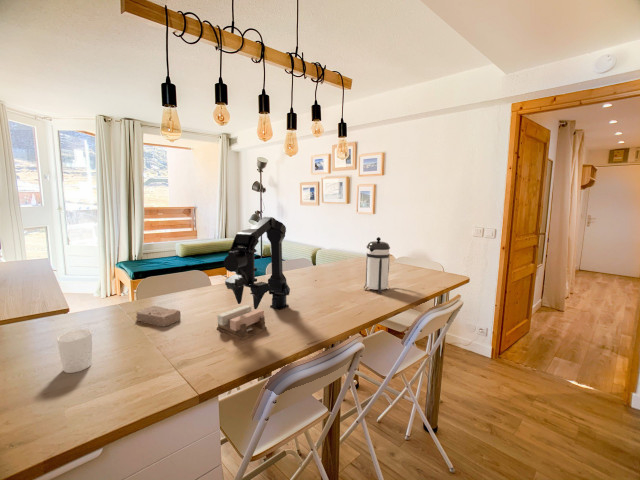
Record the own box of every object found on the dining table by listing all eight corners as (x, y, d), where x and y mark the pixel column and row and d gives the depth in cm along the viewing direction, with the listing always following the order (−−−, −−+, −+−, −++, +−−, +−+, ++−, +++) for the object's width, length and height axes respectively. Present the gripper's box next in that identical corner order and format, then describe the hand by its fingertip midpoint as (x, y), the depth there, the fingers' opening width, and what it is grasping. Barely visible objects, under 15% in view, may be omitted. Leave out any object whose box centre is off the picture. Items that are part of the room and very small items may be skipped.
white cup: (73, 360, 94) (70, 329, 93) (100, 359, 95) (97, 329, 93) (53, 375, 86) (49, 341, 85) (83, 374, 87) (79, 341, 86)
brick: (135, 321, 125) (134, 310, 124) (153, 314, 132) (152, 304, 132) (164, 328, 118) (164, 317, 118) (181, 320, 126) (181, 310, 125)
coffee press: (394, 294, 164) (397, 239, 160) (365, 293, 165) (367, 238, 161) (387, 285, 182) (390, 235, 178) (361, 284, 182) (362, 234, 178)
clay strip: (258, 317, 122) (258, 308, 122) (264, 318, 120) (263, 310, 120) (230, 328, 111) (229, 319, 110) (235, 331, 109) (235, 321, 108)
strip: (246, 312, 126) (246, 304, 126) (251, 314, 125) (251, 306, 124) (217, 323, 115) (217, 314, 115) (222, 325, 113) (222, 316, 113)
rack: (241, 319, 127) (241, 307, 127) (266, 328, 119) (266, 316, 118) (216, 329, 118) (216, 316, 117) (242, 340, 109) (241, 326, 108)
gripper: (212, 265, 111) (213, 306, 113) (246, 273, 100) (247, 318, 102) (237, 261, 120) (237, 299, 122) (270, 268, 109) (270, 309, 111)
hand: (247, 306), depth 114 cm, fingers open, 9 cm apart
